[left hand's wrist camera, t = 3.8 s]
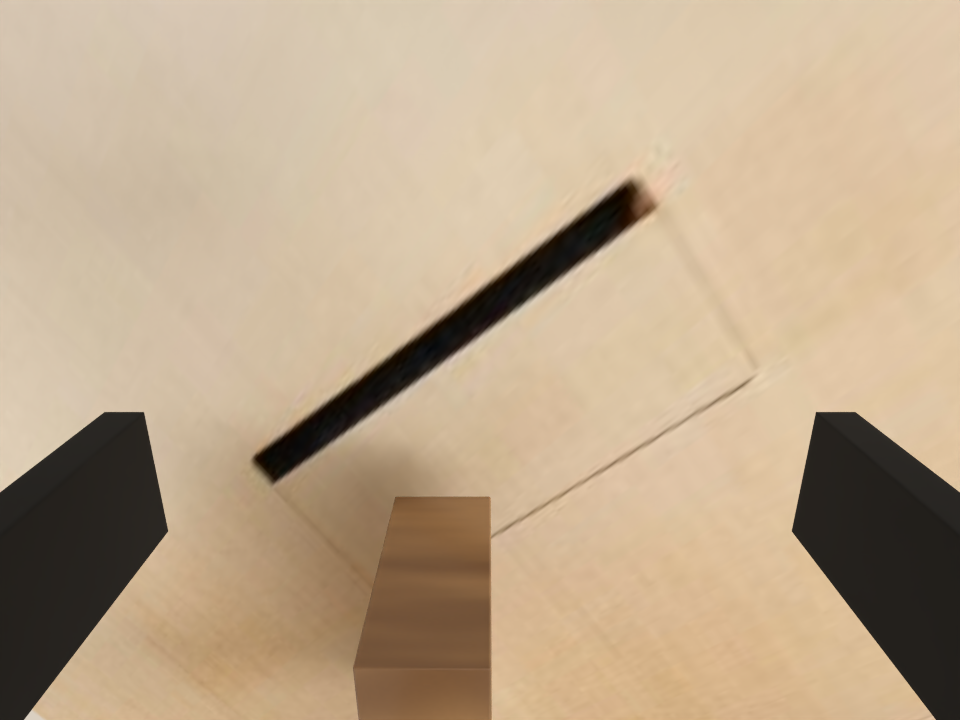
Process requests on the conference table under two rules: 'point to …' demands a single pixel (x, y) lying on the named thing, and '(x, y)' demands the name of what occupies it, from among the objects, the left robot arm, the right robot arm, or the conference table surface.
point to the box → (429, 615)
